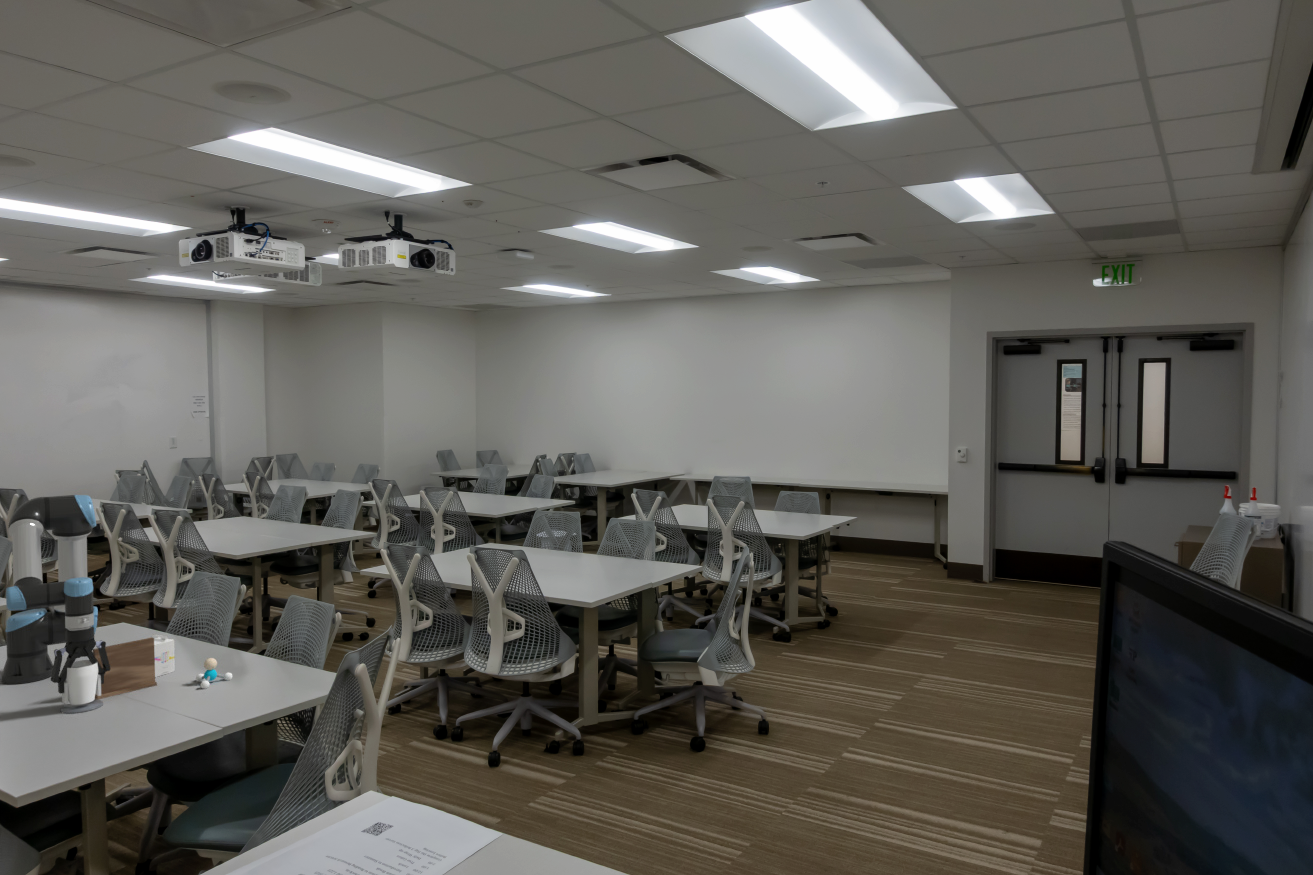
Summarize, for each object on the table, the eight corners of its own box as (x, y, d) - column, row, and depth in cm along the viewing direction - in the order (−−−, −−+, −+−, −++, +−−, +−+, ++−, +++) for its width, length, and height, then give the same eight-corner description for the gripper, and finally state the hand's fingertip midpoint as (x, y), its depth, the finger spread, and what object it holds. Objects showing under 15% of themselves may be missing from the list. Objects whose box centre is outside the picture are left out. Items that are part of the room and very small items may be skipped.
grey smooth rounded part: (55, 708, 271) (55, 706, 271) (94, 699, 279) (94, 697, 279) (68, 715, 264) (68, 714, 264) (108, 705, 273) (108, 704, 273)
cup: (81, 707, 266) (80, 668, 266) (57, 705, 268) (56, 667, 268) (106, 697, 275) (104, 660, 275) (82, 695, 277) (81, 658, 277)
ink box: (137, 675, 305) (136, 637, 304) (158, 668, 313) (157, 632, 312) (154, 678, 302) (153, 640, 301) (175, 671, 309) (174, 634, 309)
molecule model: (186, 683, 296) (186, 658, 295) (221, 675, 305) (221, 650, 305) (202, 690, 288) (202, 664, 288) (238, 681, 297) (237, 656, 297)
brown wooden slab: (92, 697, 282) (91, 648, 281) (151, 682, 296) (150, 636, 295) (97, 699, 279) (96, 650, 279) (156, 685, 294) (155, 638, 293)
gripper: (44, 636, 260) (46, 710, 261) (121, 622, 277) (123, 691, 278) (35, 632, 265) (37, 705, 265) (112, 619, 282) (114, 687, 282)
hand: (81, 698), depth 272 cm, fingers closed on cup, 8 cm apart
